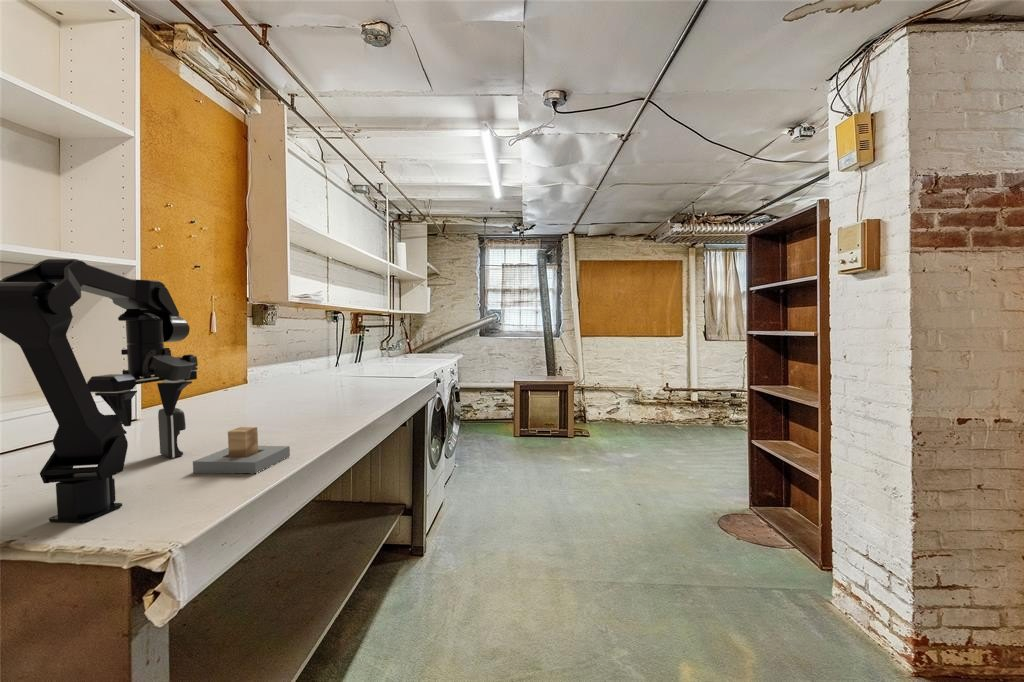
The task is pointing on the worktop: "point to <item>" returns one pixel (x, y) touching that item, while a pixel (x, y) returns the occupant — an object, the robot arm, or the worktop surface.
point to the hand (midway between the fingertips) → (149, 420)
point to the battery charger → (170, 432)
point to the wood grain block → (243, 442)
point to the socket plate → (241, 461)
